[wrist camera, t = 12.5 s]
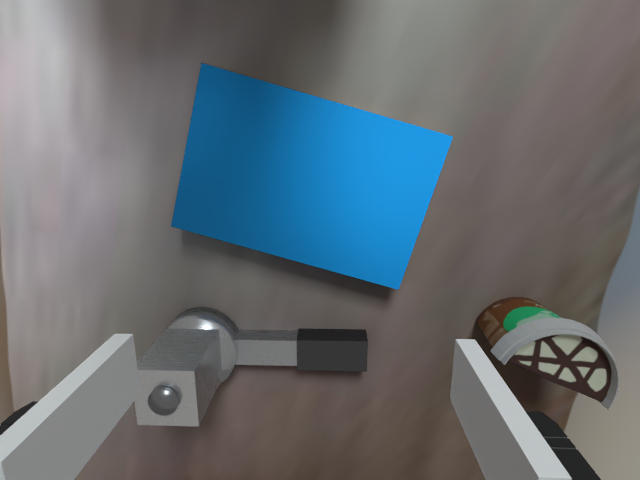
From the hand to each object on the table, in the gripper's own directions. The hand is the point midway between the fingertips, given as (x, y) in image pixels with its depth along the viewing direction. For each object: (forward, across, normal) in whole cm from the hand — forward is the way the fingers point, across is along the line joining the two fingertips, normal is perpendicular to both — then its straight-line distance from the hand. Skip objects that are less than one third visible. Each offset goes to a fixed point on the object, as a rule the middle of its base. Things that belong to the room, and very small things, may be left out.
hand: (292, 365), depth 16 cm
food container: (+29, +24, -11) cm, 39 cm away
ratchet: (+29, -7, -15) cm, 33 cm away
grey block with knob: (+26, -14, -15) cm, 33 cm away
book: (+29, -1, +4) cm, 30 cm away
